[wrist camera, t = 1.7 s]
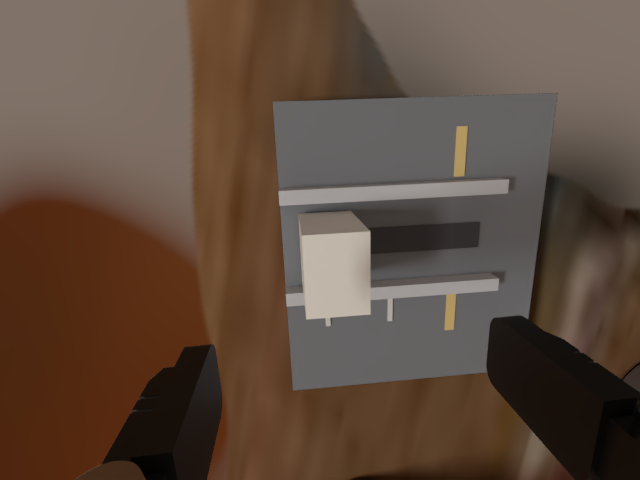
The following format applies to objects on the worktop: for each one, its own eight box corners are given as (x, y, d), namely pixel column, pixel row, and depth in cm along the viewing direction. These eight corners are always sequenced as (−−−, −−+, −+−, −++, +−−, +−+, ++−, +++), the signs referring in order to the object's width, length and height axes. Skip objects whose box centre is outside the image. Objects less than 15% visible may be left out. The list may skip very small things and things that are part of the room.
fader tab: (350, 210, 20) (370, 231, 15) (351, 275, 21) (370, 314, 16) (298, 213, 20) (301, 235, 15) (301, 279, 21) (306, 319, 16)
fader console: (529, 98, 22) (571, 90, 19) (501, 349, 27) (531, 377, 24) (274, 106, 21) (272, 99, 18) (292, 368, 26) (293, 400, 22)
